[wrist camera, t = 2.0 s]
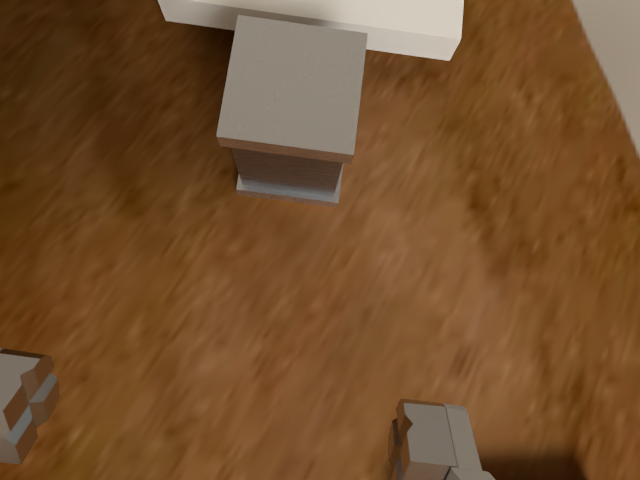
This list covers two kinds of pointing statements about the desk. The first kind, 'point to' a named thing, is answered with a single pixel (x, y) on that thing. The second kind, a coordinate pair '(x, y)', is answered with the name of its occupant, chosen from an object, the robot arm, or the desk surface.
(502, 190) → the desk surface
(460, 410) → the robot arm
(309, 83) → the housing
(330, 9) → the stand
